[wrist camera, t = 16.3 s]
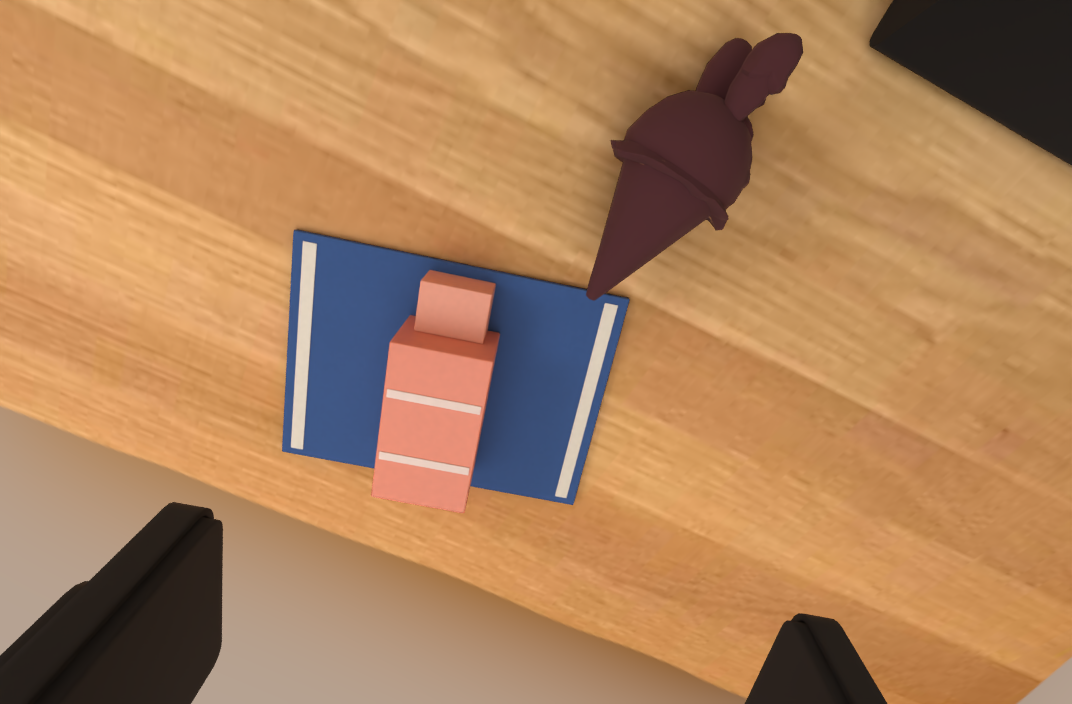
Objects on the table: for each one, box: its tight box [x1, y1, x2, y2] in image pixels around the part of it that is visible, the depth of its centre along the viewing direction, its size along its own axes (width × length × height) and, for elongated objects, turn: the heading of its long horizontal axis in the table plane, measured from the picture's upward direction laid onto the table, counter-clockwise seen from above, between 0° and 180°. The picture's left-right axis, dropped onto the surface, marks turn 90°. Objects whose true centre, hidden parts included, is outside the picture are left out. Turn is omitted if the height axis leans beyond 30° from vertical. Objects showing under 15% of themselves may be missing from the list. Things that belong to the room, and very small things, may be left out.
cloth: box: [282, 230, 629, 505], centre depth 36 cm, size 15×20×1 cm
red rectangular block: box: [371, 270, 500, 513], centre depth 34 cm, size 13×6×5 cm, turn 168°
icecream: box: [586, 33, 803, 301], centre depth 29 cm, size 7×7×15 cm
